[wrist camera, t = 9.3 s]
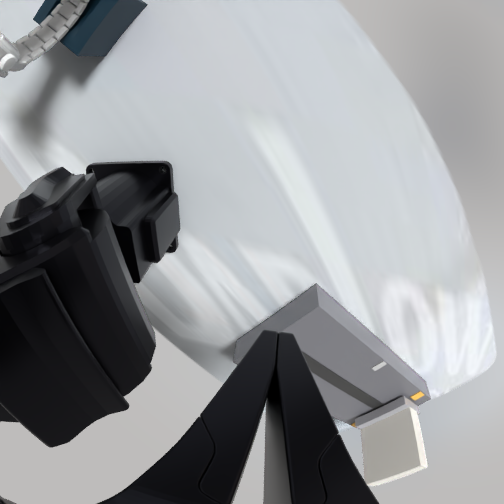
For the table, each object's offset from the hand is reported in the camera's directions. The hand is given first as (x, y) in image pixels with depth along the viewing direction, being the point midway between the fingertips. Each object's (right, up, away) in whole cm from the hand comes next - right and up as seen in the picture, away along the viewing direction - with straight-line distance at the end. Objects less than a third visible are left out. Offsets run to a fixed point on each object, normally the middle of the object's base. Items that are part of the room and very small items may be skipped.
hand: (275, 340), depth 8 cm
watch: (-10, +18, +5) cm, 21 cm away
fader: (+14, -15, +18) cm, 27 cm away
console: (+8, -9, +19) cm, 22 cm away
